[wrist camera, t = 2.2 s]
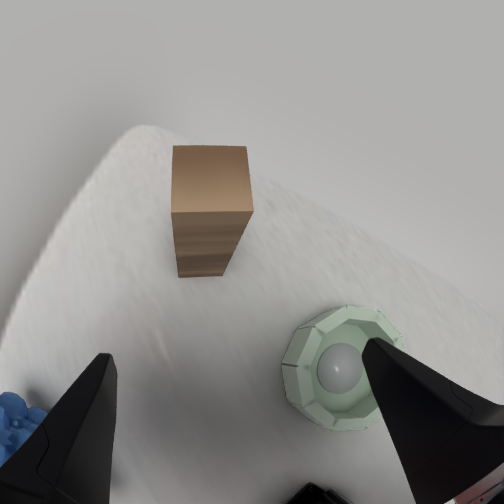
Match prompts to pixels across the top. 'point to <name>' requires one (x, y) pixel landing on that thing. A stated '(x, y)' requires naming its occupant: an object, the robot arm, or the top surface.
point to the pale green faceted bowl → (335, 367)
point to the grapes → (16, 423)
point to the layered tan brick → (209, 206)
